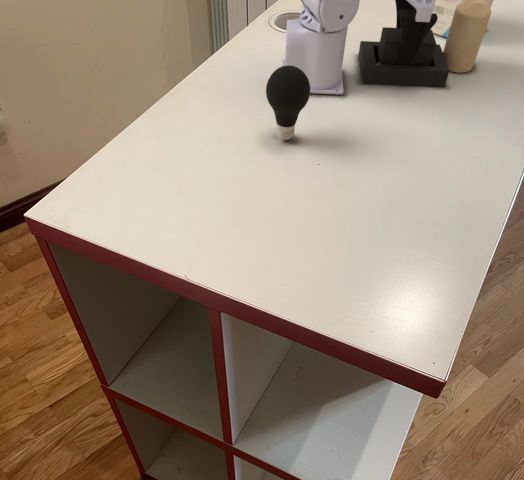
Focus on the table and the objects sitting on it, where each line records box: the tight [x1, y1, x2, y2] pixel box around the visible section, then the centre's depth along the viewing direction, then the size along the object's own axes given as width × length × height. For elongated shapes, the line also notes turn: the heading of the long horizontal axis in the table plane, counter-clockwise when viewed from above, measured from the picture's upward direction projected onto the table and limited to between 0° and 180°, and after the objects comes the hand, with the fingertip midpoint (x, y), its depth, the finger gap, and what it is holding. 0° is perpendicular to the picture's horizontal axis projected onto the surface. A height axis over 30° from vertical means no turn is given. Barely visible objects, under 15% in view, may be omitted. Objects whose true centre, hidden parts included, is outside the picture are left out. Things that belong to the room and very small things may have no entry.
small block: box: [378, 26, 437, 66], centre depth 84 cm, size 8×5×4 cm, turn 87°
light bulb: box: [265, 66, 311, 142], centre depth 70 cm, size 6×6×10 cm
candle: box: [442, 0, 492, 74], centre depth 84 cm, size 6×6×10 cm
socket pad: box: [357, 40, 450, 88], centre depth 85 cm, size 14×10×2 cm
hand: (404, 52), depth 84 cm, fingers closed on small block, 5 cm apart
